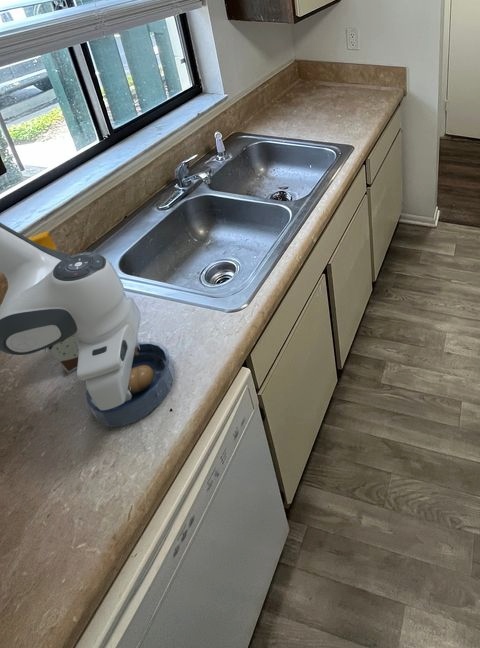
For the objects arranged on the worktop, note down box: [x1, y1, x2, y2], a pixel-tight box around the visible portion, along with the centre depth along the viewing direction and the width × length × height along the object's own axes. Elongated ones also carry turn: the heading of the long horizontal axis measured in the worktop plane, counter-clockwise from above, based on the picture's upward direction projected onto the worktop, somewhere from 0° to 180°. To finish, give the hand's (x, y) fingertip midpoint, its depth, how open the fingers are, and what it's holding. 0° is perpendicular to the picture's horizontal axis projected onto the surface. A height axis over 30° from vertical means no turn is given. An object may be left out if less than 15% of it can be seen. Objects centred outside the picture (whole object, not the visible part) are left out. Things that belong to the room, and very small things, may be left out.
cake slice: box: [44, 334, 78, 374], centre depth 95 cm, size 12×6×10 cm, turn 135°
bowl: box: [85, 341, 175, 428], centre depth 87 cm, size 14×14×5 cm
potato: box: [128, 365, 154, 394], centre depth 87 cm, size 8×5×5 cm, turn 111°
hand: (131, 374), depth 86 cm, fingers open, 8 cm apart
